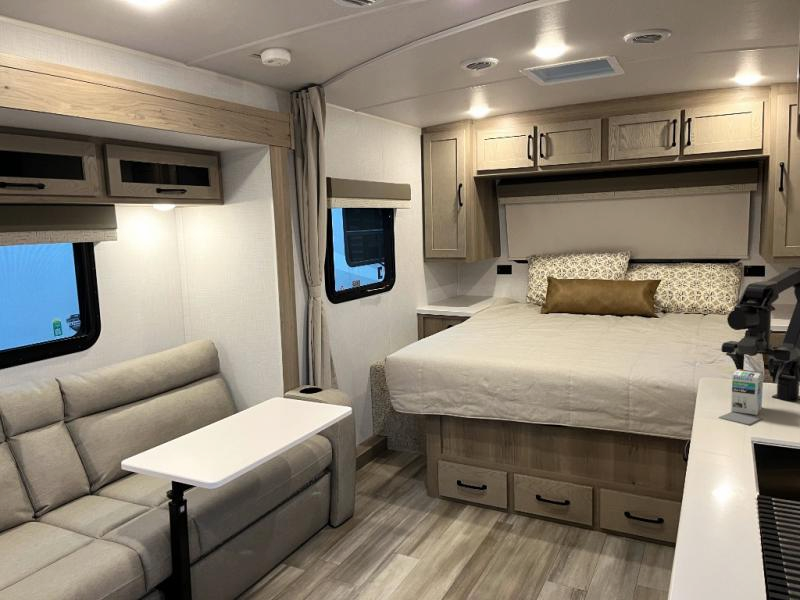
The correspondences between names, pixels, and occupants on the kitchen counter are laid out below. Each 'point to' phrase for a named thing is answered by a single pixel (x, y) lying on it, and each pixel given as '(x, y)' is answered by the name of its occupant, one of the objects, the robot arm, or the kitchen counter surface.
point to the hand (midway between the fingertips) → (757, 379)
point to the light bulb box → (747, 391)
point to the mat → (741, 418)
